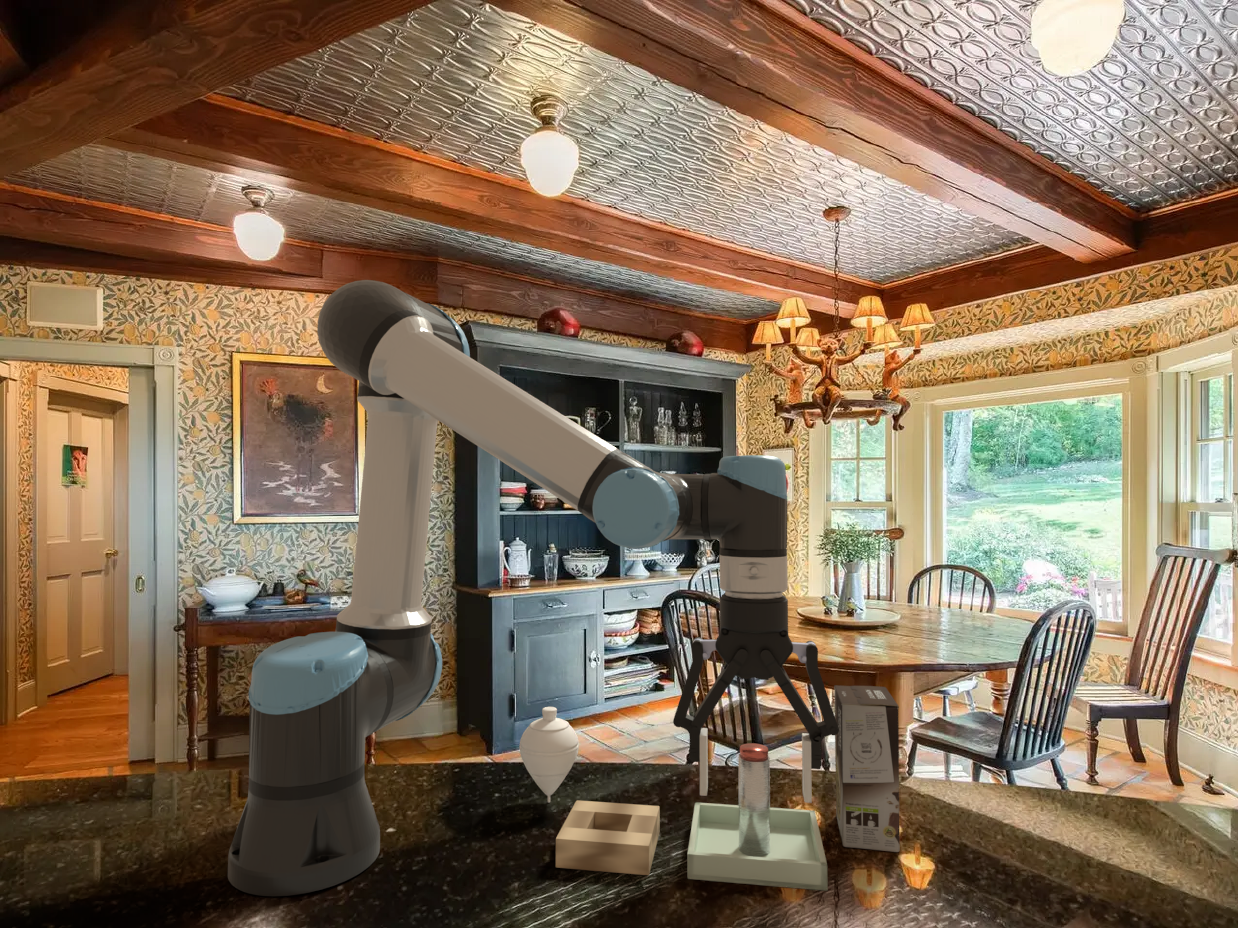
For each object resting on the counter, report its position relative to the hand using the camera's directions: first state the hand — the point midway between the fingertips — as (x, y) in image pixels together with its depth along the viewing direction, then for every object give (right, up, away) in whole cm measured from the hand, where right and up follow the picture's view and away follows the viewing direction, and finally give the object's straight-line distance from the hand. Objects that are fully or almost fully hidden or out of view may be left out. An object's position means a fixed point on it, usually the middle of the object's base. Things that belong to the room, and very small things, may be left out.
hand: (754, 794), depth 82 cm
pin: (0, -6, 0) cm, 6 cm away
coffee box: (+14, -7, +5) cm, 16 cm away
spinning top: (-24, -7, +13) cm, 28 cm away
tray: (0, -6, 0) cm, 6 cm away
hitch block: (-16, -6, +1) cm, 17 cm away
